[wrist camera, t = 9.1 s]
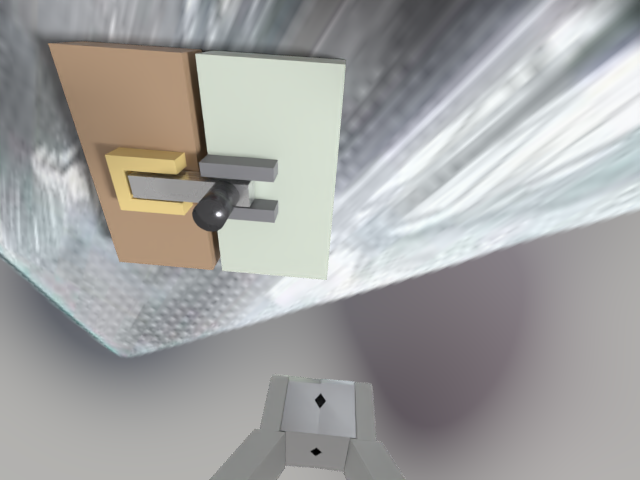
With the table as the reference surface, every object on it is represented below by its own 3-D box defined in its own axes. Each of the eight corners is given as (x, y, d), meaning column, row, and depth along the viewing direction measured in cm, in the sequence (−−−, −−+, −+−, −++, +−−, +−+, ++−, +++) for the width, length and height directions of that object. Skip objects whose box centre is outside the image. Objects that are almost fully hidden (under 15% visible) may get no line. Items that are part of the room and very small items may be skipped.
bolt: (253, 173, 29) (234, 205, 24) (255, 199, 30) (236, 233, 25) (139, 164, 29) (96, 193, 24) (145, 190, 30) (105, 222, 25)
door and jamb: (345, 59, 28) (345, 67, 23) (328, 257, 38) (325, 292, 33) (83, 41, 28) (26, 44, 23) (139, 241, 39) (108, 273, 34)
